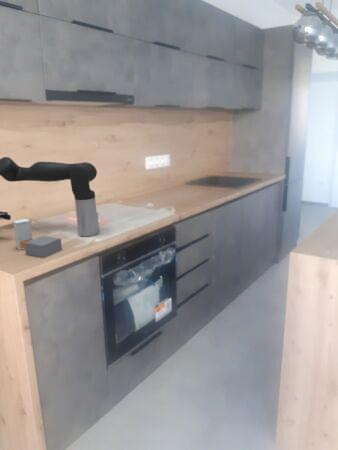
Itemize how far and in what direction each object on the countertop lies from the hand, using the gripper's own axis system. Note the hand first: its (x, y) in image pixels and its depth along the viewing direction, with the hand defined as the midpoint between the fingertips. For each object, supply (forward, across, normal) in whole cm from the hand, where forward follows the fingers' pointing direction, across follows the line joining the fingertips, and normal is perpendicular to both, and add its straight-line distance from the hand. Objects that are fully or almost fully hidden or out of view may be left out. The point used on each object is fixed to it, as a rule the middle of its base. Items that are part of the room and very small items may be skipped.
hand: (1, 219), depth 159 cm
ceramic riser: (+24, 0, -11) cm, 27 cm away
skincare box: (+12, -1, -11) cm, 17 cm away
